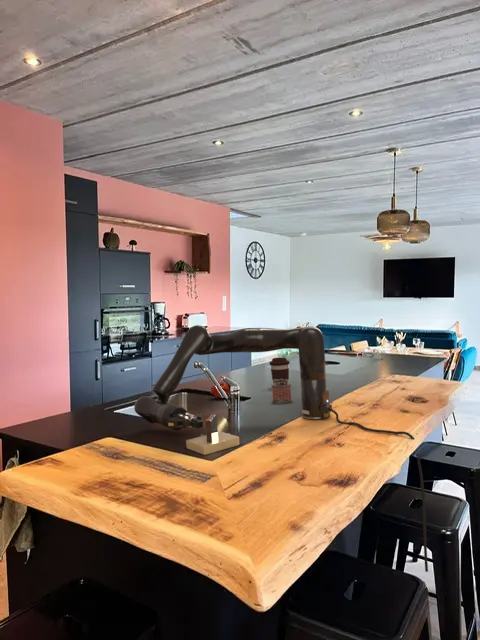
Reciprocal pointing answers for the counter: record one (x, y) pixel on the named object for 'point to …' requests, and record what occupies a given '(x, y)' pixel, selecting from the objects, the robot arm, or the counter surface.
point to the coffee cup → (279, 369)
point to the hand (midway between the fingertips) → (200, 424)
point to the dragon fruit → (215, 392)
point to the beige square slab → (218, 444)
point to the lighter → (281, 391)
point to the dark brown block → (211, 428)
